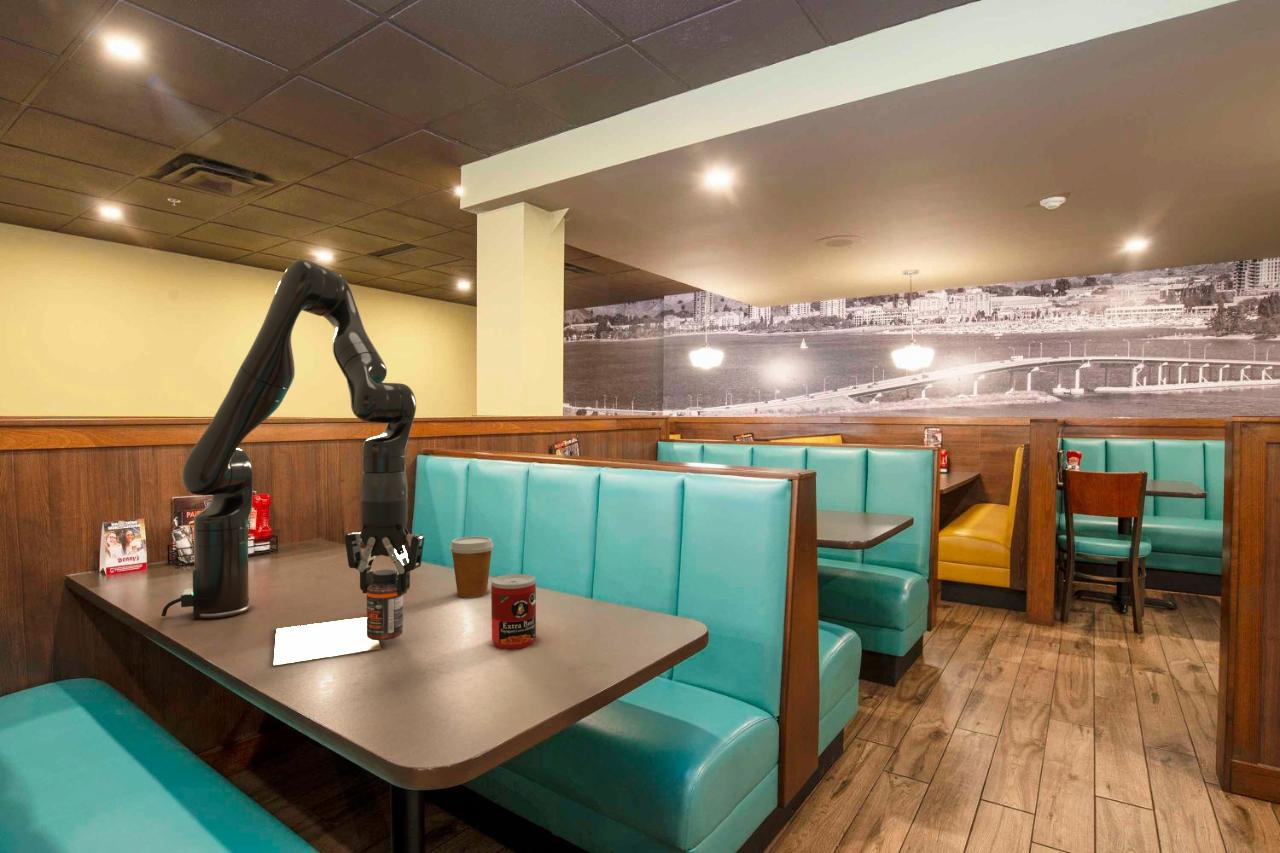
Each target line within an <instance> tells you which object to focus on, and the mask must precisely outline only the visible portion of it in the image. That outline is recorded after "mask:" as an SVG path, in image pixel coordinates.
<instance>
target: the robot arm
mask: <svg viewBox="0 0 1280 853" xmlns="http://www.w3.org/2000/svg"><path fill="white" fill-rule="evenodd" d="M302 311H303V312H306V313H309V314H312V315H315V316H318V317H323V318H324V319H326V321H328V322H329V323H330V325H331V326H332V327H333V329H334V330H335V333H334V336H333V338H332V344H331V348H332V349H331V350H332V354H333V357H334V359H335V363H337V365H338V367H339V370H340V371H341V372H342V374H343V377H344V378H345V380H346V383H347V384H346V385H347V389H348V395H349V402H350V409H351V411H352V413H353V415H354V416H355V417H356V418H357V419H358V420H360V421H361V422H362V423H366V424H386V426H385V428H384V430H383V432H382V434H380V435H376V436H373V437H370V438H367V439H366V440H364V442H363V444H362V477H361V482H360V483H361V484H360V502H361V503H360V504H361V505H360V507H361V508H360V511H361V512H360V514H361V516H360V518H361V519H360V520H361V521H360V522H361V525H362V529H361V531H360V532H357V531H354V532H350V533H347V534H345V535H344V542H345V543H344V544H345V549H346V556H347V564H348V567H349V568H350V569H355V570H357V571H358V572H359V589H360V591H362V594H366V595H367V588H368V586H369V585H370V584H372V582H373V572H374V570H373V569H372V568H373V565H374V563H375V561H376V559H377V558H378V557H379V556H384V557H389V558H390V561H391V562H392V563H393V564H394V565H395V568H396V571H397V594H398V595H403V596H404V595H405V594H407V593H408V591H409V590H410V588H411V571H414V570H416V569H418V568H420V567H421V565H422V558H423V552H424V545H425V535H424V534H423V533H420V534H414V533H413V534H412V533H410V531H409V530H408V528H407V525H408V479H407V471H406V470H407V445H408V441H409V438H410V433H411V431H412V430H411V429H412V427H413V422H414V420H415V416H416V411H417V400H416V395H415V393H414V391H413V389H412V388H411V387H410V386H408V385H407V384H405V383H399V382H384V381H385V379H386V378H387V375H388V369H387V366H386V363H385V362H384V360H383V358H382V357H381V355H380V354H379V352H378V351H377V349H376V347H375V344H374V343H373V342H372V341H371V339H370V336H369V335H368V333H367V331H366V328H365V326H364V324H363V321H362V318H361V315H360V312H359V308H358V306H357V304H356V301H355V299H354V295H353V292H352V290H351V287H350V285H349V283H348V281H347V280H346V278H345V277H343V276H342V275H341V274H339V273H338V272H337V271H334V270H331V269H330V268H326V267H325V266H322V265H319V264H317V263H314V262H312V261H310V260H306V259H297V260H295V261H293V262H291V264H289V266H288V267H287V268H286V270H285V271H284V273H283V275H282V276H281V278H280V280H279V282H278V285H277V288H276V290H275V293H274V294H273V298H272V300H271V303H270V304H269V308H268V311H267V313H266V315H265V318H264V320H263V323H262V324H261V327H260V329H259V331H258V333H257V335H256V337H255V339H254V341H253V343H252V345H251V347H250V349H249V350H248V352H247V354H246V356H245V358H244V359H243V360H242V363H241V365H240V367H239V368H238V370H237V372H236V374H235V376H234V378H233V380H232V383H231V384H230V387H229V389H228V391H227V393H226V395H225V396H224V397H223V400H222V402H220V403H221V404H220V405H219V407H218V409H217V411H216V413H215V414H214V416H213V418H212V420H211V421H210V423H209V424H208V426H207V428H206V429H205V430H204V432H203V433H202V434H201V436H200V438H199V439H198V440H197V443H195V445H194V447H193V448H192V450H191V451H190V452H189V454H188V456H187V458H186V459H185V462H184V464H183V467H182V472H181V480H182V484H183V486H184V489H186V490H187V491H188V492H189V493H190V494H192V495H195V496H202V497H203V496H204V497H206V496H207V497H208V496H211V501H210V503H209V504H208V505H207V506H206V507H205V508H204V509H203V510H201V511H200V512H198V513H197V514H196V515H195V516H194V518H193V558H194V559H193V560H194V562H193V563H194V565H193V566H194V567H193V570H192V588H184V590H183V592H182V593H181V595H180V597H178V598H175V599H173V600H171V601H169V602H167V603H166V604H165V605H164V607H163V609H162V612H161V617H166V616H167V613H168V610H169V609H170V607H171V606H173V605H175V604H178V603H180V608H188V607H193V608H192V609H193V610H192V619H194V620H197V619H205V620H206V619H208V620H209V619H219V618H220V619H222V618H228V617H234V616H237V615H240V614H243V613H245V612H247V611H249V610H250V597H249V596H250V592H249V589H250V588H249V583H250V582H249V525H248V524H249V523H248V522H249V517H250V514H251V512H252V507H253V494H254V492H253V491H254V468H253V463H252V460H251V457H250V456H249V454H247V452H246V451H244V450H243V449H241V448H238V447H239V446H240V445H241V443H242V442H243V440H245V438H246V437H247V436H248V435H249V434H251V432H253V431H254V430H255V429H256V428H257V427H259V426H260V425H261V424H262V423H263V422H265V421H266V420H267V419H268V418H269V417H270V416H271V415H272V414H274V413H275V411H277V410H278V408H279V407H280V406H281V404H282V403H283V401H284V399H285V397H286V395H287V393H288V392H289V390H290V388H291V386H292V384H293V382H294V380H295V375H296V370H295V369H296V367H295V366H296V365H295V358H294V352H293V345H292V334H293V330H294V327H295V325H296V322H297V319H298V318H299V316H300V314H301V312H302ZM406 542H408V547H409V553H408V552H407V550H406V548H405V544H406ZM362 543H363V544H364V545H365V548H364V551H363V553H362V547H361V544H362ZM408 554H409V555H408Z"/></svg>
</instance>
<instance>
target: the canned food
mask: <svg viewBox="0 0 1280 853" xmlns="http://www.w3.org/2000/svg"><path fill="white" fill-rule="evenodd" d="M536 587H537V582H536V577H535V576H533V575H530V574H526V573H511V574H502V575H499V576H495V577H494V578H492V579H491V584H490V598H491V599H490V600H491V601H490V602H491V608H490V609H491V610H490V611H491V615H490V616H491V641H492V644H493V645H494V646H495V647H496V648H499V649H502V650H503V649H505V650H516V649H522V648H526V647H529V646H532V644H533V643H535V641H536V637H537V588H536Z"/></svg>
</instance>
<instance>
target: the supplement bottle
mask: <svg viewBox="0 0 1280 853" xmlns="http://www.w3.org/2000/svg"><path fill="white" fill-rule="evenodd" d="M397 574H398V570H397V569H391V568H385V569H379V570H374V571H373V582H372V584H370V585H369V586H368V588H367V594H366V617H367V627H366V628H367V630H366V631H367V637H368V638H370V639H372V640H378V641H379V642H380V641H388V640H393V639H396V638H398V637H400V636H401V635H402V634H403V630H404V629H403V628H404V627H403V626H404V594H403V595H398V594H397Z"/></svg>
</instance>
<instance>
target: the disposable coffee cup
mask: <svg viewBox="0 0 1280 853" xmlns="http://www.w3.org/2000/svg"><path fill="white" fill-rule="evenodd" d="M494 546H495V544H494V543H493V541H492V537H491V538H490V537H488V536H487V537H486V536H464V537H459V538H454V539H452V540H451V544H450V545H449V550H450V552H451V557H452V563H453V572H454V578H455V586H456V592H457V593H456V594H457V596H458V597H459V598H460V597H461V598H469V599H470V598H479V597H482V596H485V595H486V594H487V592H488V584H489V576H490V569H491V560H492V550H494V549H493V548H494Z"/></svg>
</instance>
